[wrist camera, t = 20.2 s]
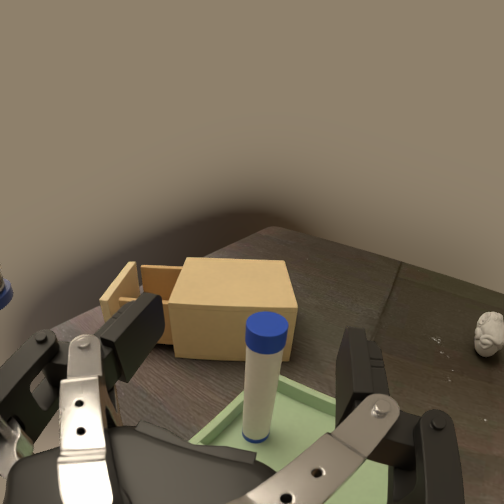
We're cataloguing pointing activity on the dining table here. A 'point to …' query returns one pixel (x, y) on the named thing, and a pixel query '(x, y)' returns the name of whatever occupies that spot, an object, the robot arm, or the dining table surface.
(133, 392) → the dining table surface
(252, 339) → the marker
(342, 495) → the tray
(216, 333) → the cabinet
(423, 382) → the dining table surface
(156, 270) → the drawer
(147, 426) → the robot arm
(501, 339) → the frog figurine
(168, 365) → the dining table surface
